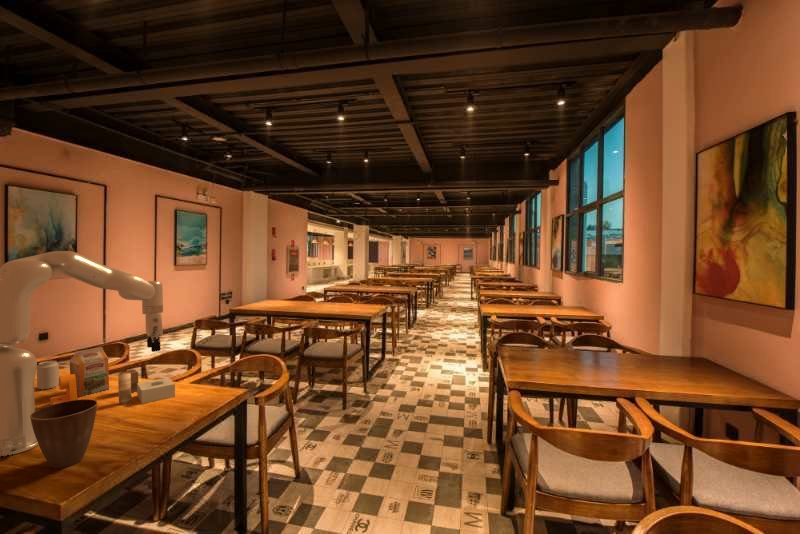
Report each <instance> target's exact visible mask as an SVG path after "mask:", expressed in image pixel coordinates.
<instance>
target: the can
mask: <svg viewBox="0 0 800 534" xmlns="http://www.w3.org/2000/svg"><path fill="white" fill-rule="evenodd" d="M59 368H60V364H59V363H58V362H57V360H46V361H41V362H39V363H38V364H37V368H36V383H37V384H36V388H37V389H39V390H40V389H41V391H45V390H44V389H47V390H51V389H50V388H52V389H55V388H57V387H59V377H60V369H59ZM56 386H57V387H56ZM54 387H55V388H54Z"/></svg>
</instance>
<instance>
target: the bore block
mask: <svg viewBox="0 0 800 534" xmlns="http://www.w3.org/2000/svg"><path fill="white" fill-rule="evenodd" d="M136 394H137V398H138V399H139V401H140V403H141V404H142V405H144V404H148V403H152V402H157V401H161V400H166V399H171V398H175V397H176V385H175V382H173V380H172V379H171V378H170V377H164V378H159V379H154V380H153V379H151V380H148V381H141V382H138V383H137V392H136Z"/></svg>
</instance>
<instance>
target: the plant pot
mask: <svg viewBox="0 0 800 534" xmlns="http://www.w3.org/2000/svg"><path fill="white" fill-rule="evenodd" d="M97 407H98V401H97V400H95V399H91V398H90V399H88V398H85V399H78V400H72V401H66V402H61V403H57V404H53V405H51V404H50V405H47V406H44V407H41V408H39V409H37V410H35V412H33V413H32V414H31V415H30V418H31V423H32V427H33V431H34V434H35V437H36V439H37V442H38V444H39V445H38V447H39V449H40V451H41V453H42V455H43V456H44V459H45V460H46V462H47V464H48V465H49V467H50V468H51V469H52V468H53V469H61V468H63V469H64V468H66V467H70V466H73V465H75V464H78V463H79V462H81V461H82V460H84V458H85V455H86V452H87V449H88V446H89V444H90V441H91V437H92V434H93V430H94V425H95V421H96V416H97Z"/></svg>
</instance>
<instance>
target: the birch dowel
mask: <svg viewBox="0 0 800 534" xmlns="http://www.w3.org/2000/svg"><path fill="white" fill-rule="evenodd" d="M117 379H118V381H117V382H118V385H117V386H118V404H119V405H121V406H122V405H128V403H129V404H131V403H132V394H131V373H121V374H119V373H118V377H117ZM130 402H131V403H130Z"/></svg>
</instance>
